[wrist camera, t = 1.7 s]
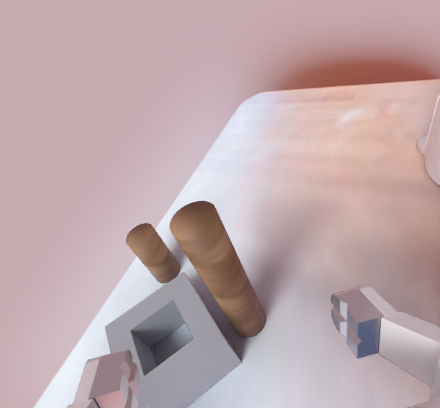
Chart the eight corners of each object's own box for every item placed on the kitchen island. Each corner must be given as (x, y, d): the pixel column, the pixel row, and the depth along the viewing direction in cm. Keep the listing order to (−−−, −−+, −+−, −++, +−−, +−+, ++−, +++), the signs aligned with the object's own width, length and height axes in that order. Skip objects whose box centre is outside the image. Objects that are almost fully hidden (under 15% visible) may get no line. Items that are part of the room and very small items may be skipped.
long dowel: (252, 298, 32) (202, 194, 22) (272, 322, 29) (225, 216, 19) (227, 317, 31) (163, 219, 21) (244, 344, 29) (180, 246, 19)
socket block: (198, 292, 35) (183, 271, 32) (241, 362, 28) (227, 343, 25) (126, 344, 33) (105, 326, 30) (152, 434, 26) (126, 423, 23)
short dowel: (174, 256, 41) (148, 219, 36) (184, 272, 38) (156, 233, 33) (152, 271, 40) (123, 234, 35) (161, 288, 38) (129, 251, 33)
